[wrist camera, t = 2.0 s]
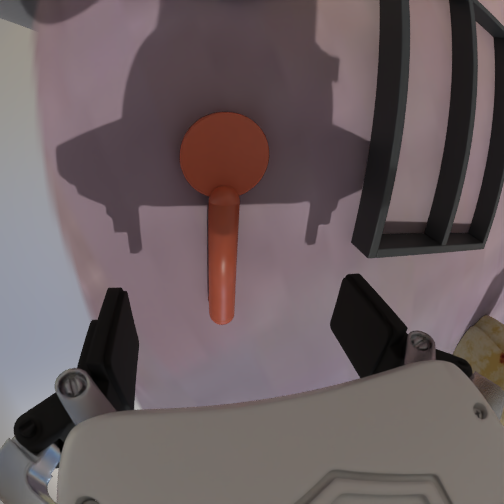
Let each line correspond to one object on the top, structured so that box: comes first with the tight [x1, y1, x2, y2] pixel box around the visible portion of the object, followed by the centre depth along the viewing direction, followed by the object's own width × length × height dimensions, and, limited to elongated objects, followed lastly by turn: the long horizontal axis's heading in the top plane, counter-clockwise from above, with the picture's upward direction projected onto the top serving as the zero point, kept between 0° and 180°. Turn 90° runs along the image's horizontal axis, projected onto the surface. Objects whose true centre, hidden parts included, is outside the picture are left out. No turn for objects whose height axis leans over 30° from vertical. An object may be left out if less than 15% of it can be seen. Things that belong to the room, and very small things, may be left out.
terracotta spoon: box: [180, 112, 269, 325], centre depth 14 cm, size 4×11×3 cm, turn 176°
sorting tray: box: [351, 0, 504, 258], centre depth 13 cm, size 14×20×3 cm
